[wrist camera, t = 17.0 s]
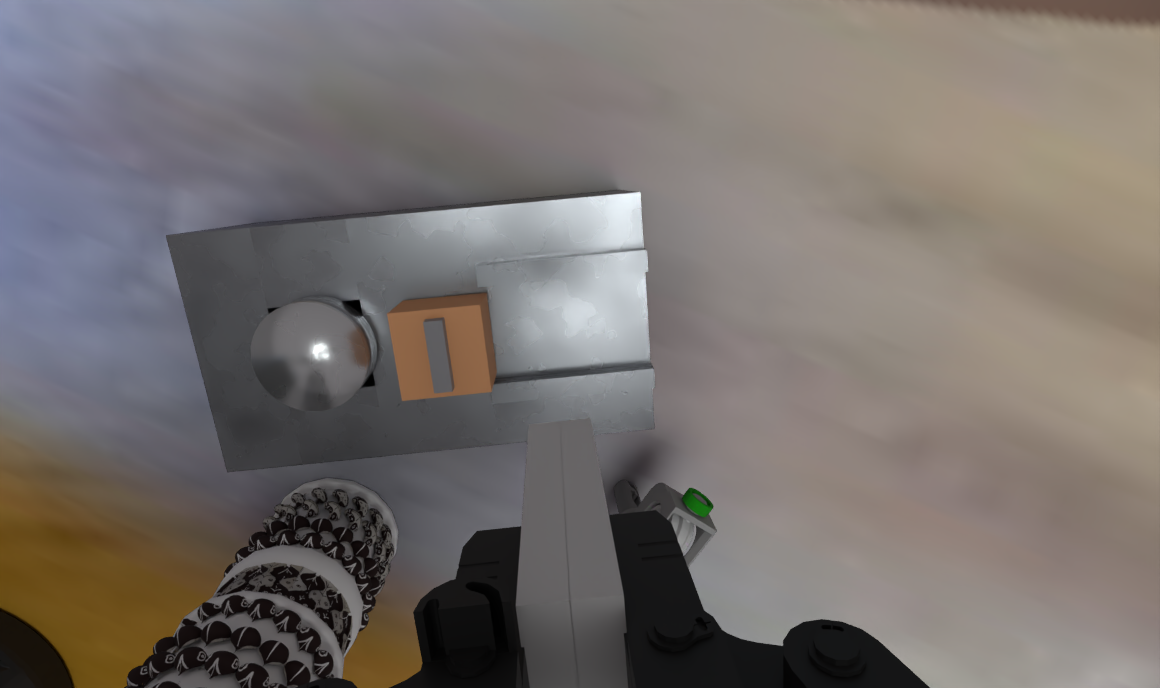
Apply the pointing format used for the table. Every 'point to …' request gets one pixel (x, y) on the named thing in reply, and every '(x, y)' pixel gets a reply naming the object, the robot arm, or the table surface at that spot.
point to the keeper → (443, 346)
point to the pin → (314, 352)
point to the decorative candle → (285, 597)
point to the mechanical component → (673, 512)
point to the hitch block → (417, 271)
